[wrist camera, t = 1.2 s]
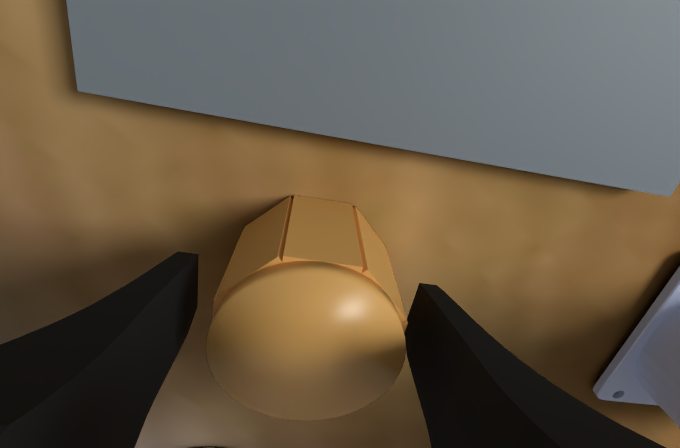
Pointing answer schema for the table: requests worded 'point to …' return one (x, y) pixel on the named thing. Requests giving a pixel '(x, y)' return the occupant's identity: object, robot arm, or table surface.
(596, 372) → the table surface
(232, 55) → the board
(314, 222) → the cap
